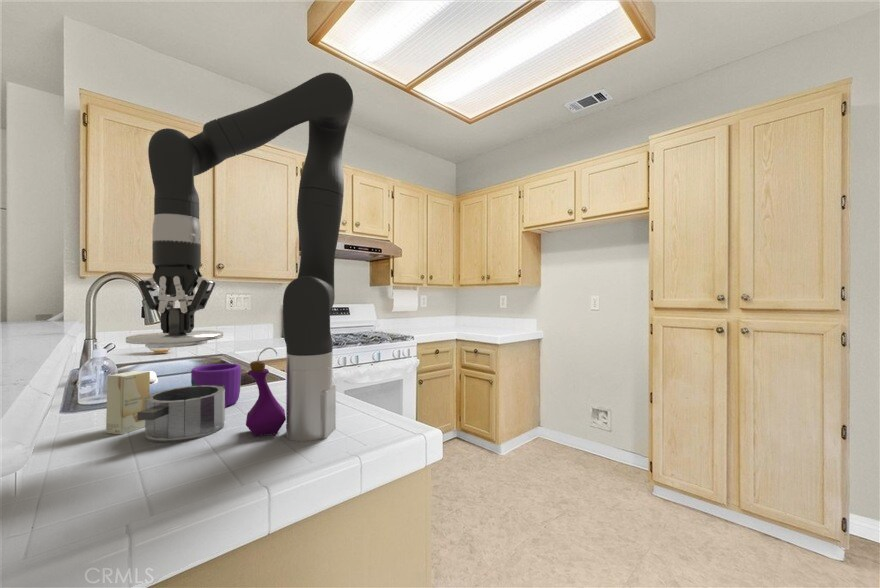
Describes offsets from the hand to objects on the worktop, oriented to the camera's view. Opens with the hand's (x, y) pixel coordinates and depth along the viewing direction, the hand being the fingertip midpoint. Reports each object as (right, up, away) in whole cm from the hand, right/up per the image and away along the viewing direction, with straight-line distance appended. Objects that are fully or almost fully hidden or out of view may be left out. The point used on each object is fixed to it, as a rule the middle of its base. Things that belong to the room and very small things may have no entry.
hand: (177, 332), depth 71 cm
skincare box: (-18, -22, +11) cm, 31 cm away
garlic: (-49, -23, +55) cm, 76 cm away
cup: (-92, -22, +120) cm, 153 cm away
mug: (-12, -22, +31) cm, 40 cm away
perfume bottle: (+13, -22, +9) cm, 27 cm away
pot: (-5, -22, +10) cm, 25 cm away
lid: (0, -2, 0) cm, 2 cm away
